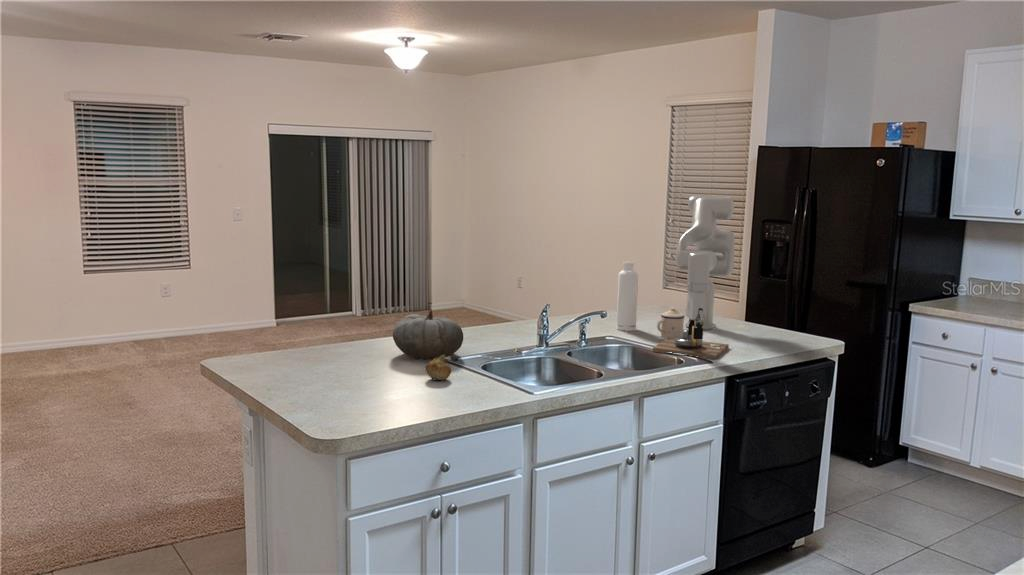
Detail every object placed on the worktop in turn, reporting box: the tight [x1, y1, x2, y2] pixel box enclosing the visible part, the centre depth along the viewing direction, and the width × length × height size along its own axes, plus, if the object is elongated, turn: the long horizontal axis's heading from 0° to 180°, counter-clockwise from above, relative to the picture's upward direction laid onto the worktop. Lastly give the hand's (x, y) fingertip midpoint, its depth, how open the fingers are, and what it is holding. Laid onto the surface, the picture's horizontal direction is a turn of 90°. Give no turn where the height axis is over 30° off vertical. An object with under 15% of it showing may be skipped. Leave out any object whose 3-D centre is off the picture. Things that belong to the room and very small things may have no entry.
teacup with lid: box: [656, 307, 685, 339], centre depth 314 cm, size 12×9×12 cm
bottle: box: [616, 260, 639, 332], centre depth 327 cm, size 8×8×28 cm
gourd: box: [392, 309, 464, 361], centre depth 278 cm, size 25×25×17 cm
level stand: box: [652, 337, 730, 360], centre depth 294 cm, size 20×23×2 cm
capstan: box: [675, 325, 703, 348], centre depth 290 cm, size 15×10×9 cm
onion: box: [425, 355, 452, 381], centre depth 249 cm, size 8×8×8 cm
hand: (695, 336), depth 284 cm, fingers open, 6 cm apart
